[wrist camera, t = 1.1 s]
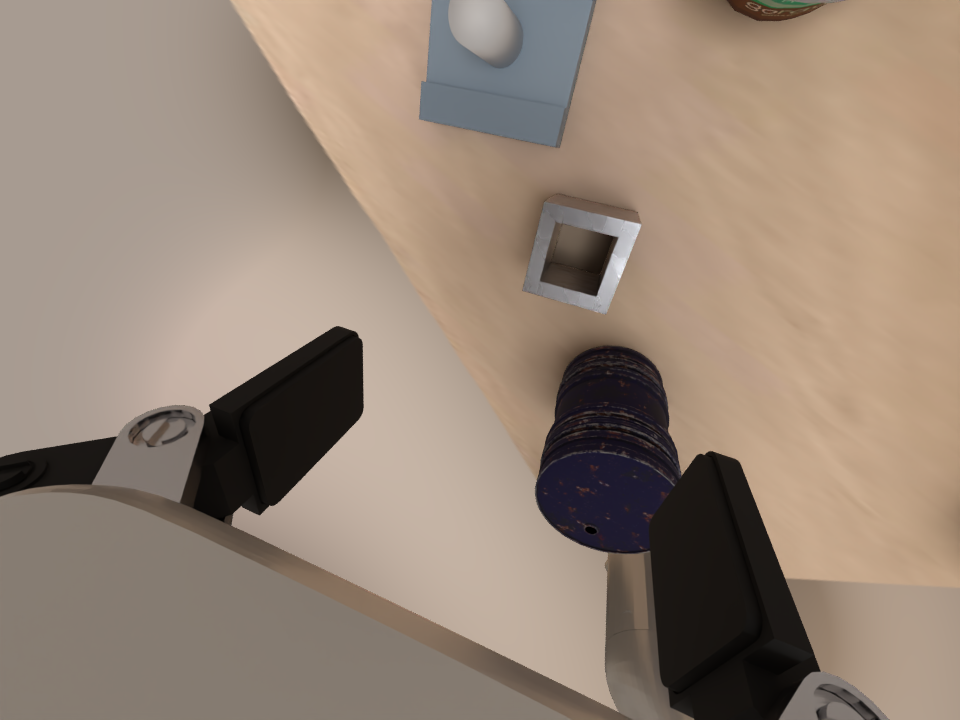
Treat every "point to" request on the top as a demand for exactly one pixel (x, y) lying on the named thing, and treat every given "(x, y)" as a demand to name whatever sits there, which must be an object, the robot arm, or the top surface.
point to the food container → (776, 8)
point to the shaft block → (505, 65)
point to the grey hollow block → (572, 281)
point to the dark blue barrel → (608, 452)
